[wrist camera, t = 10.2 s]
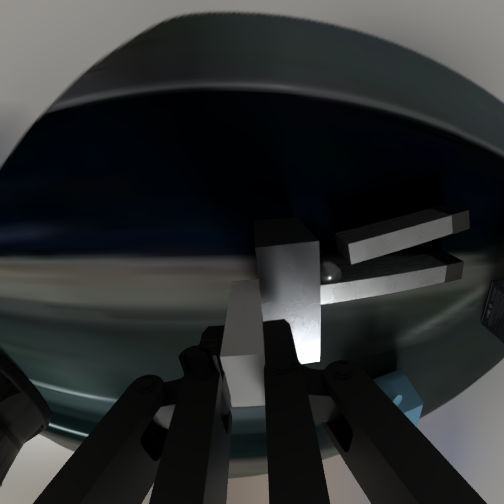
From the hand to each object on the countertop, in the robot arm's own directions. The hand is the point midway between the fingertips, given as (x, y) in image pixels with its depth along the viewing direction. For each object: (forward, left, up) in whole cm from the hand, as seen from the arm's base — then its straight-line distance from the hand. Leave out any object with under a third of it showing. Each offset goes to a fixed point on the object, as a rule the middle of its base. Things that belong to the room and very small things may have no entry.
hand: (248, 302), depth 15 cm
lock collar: (+2, 0, -5) cm, 6 cm away
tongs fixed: (+10, -1, -5) cm, 11 cm away
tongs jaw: (+12, +2, -5) cm, 13 cm away
